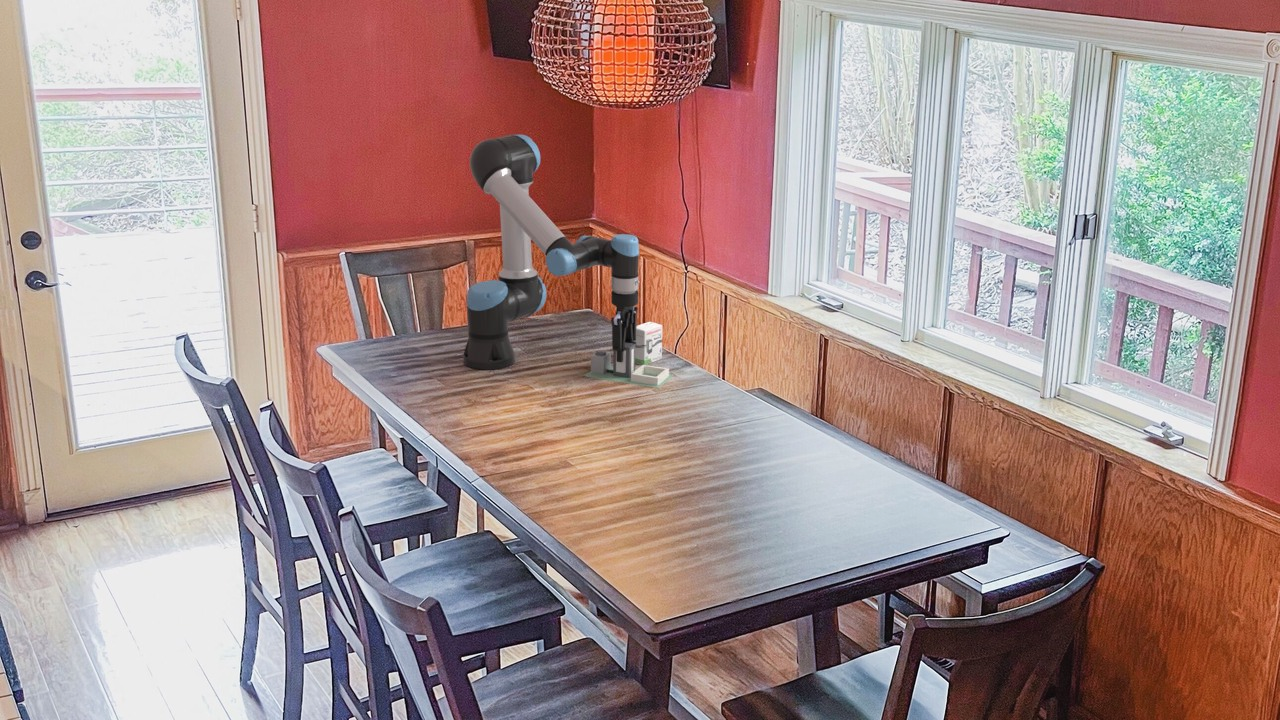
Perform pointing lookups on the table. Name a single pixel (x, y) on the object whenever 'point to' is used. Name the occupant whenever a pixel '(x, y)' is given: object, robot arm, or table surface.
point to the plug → (629, 361)
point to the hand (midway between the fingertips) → (624, 369)
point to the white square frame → (640, 378)
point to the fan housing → (601, 362)
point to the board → (623, 378)
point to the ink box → (648, 343)
